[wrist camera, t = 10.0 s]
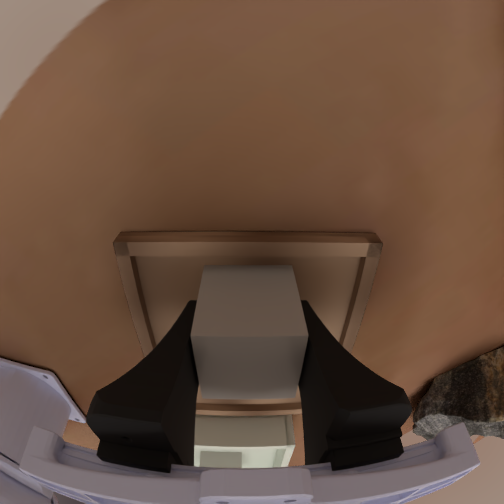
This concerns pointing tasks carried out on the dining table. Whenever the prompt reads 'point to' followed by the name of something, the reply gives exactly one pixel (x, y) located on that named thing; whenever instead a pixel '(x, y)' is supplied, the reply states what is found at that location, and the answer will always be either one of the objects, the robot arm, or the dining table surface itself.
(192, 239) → the wooden tray
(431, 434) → the rock
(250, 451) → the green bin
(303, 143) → the dining table surface
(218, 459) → the stone
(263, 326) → the stone
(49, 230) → the dining table surface
